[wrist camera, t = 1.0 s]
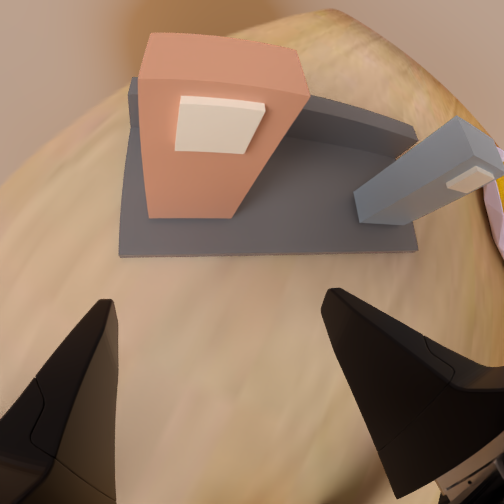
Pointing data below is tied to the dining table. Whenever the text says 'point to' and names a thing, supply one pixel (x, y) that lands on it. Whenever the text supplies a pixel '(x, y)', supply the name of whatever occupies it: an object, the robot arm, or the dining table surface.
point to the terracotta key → (212, 119)
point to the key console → (282, 193)
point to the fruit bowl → (496, 208)
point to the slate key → (430, 175)
